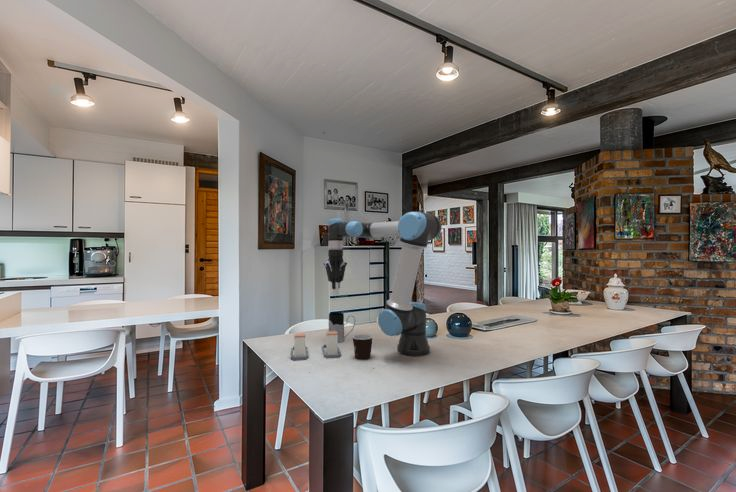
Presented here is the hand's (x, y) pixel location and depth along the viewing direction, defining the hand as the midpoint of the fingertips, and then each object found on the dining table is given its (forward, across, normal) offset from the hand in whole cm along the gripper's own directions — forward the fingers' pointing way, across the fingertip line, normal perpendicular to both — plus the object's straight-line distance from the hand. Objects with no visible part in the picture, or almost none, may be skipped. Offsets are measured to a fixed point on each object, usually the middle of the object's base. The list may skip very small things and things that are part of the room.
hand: (335, 295), depth 177 cm
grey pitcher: (+25, -2, +2) cm, 25 cm away
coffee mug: (+25, +5, +29) cm, 38 cm away
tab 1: (+23, +27, +12) cm, 37 cm away
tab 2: (+23, +14, +18) cm, 32 cm away
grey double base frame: (+24, +19, +12) cm, 33 cm away
